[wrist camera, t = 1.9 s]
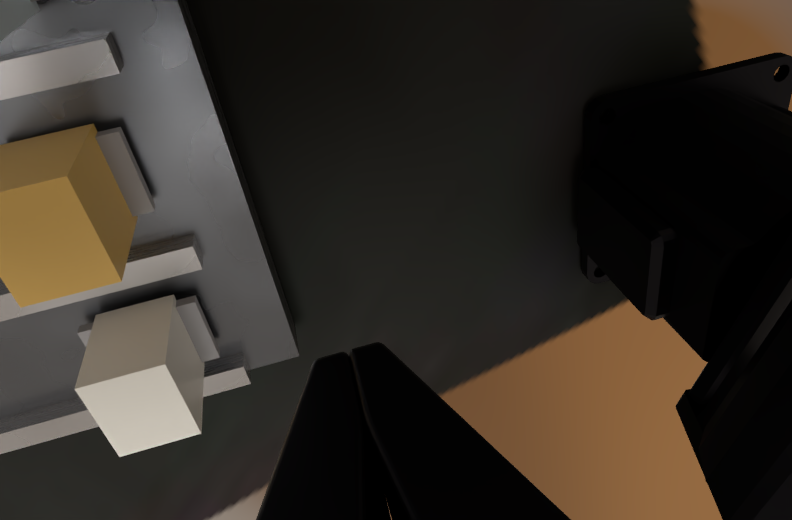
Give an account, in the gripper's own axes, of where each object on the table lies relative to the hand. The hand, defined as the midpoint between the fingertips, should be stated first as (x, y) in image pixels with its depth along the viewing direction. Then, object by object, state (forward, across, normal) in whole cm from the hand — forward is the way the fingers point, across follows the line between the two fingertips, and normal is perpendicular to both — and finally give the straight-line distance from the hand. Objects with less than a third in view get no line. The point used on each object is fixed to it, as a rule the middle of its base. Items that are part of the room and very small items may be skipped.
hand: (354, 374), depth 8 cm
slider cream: (+8, +5, +5) cm, 11 cm away
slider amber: (+8, +5, 0) cm, 10 cm away
